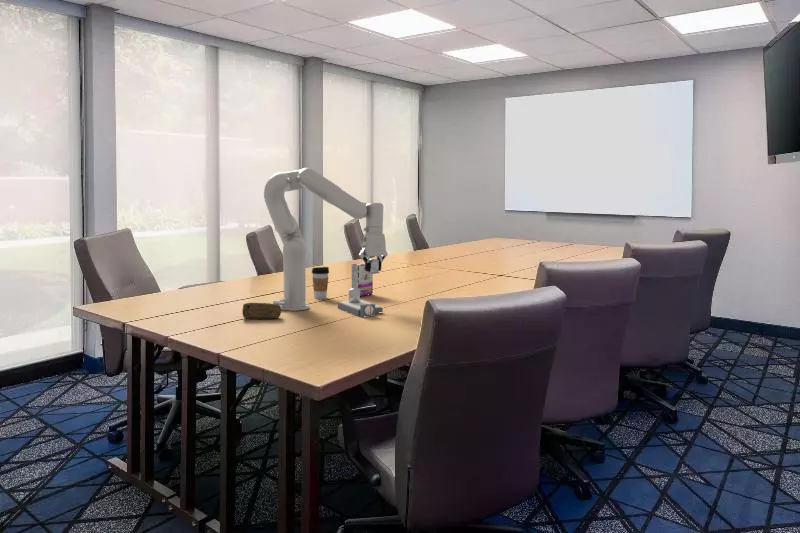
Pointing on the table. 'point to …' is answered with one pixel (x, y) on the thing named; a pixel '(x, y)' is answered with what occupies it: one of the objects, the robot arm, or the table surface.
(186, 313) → the table surface
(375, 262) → the cylinder
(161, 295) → the table surface
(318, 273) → the coffee cup
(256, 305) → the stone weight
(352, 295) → the cylinder
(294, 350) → the table surface
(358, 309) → the scale
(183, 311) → the table surface
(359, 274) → the candy bar box
